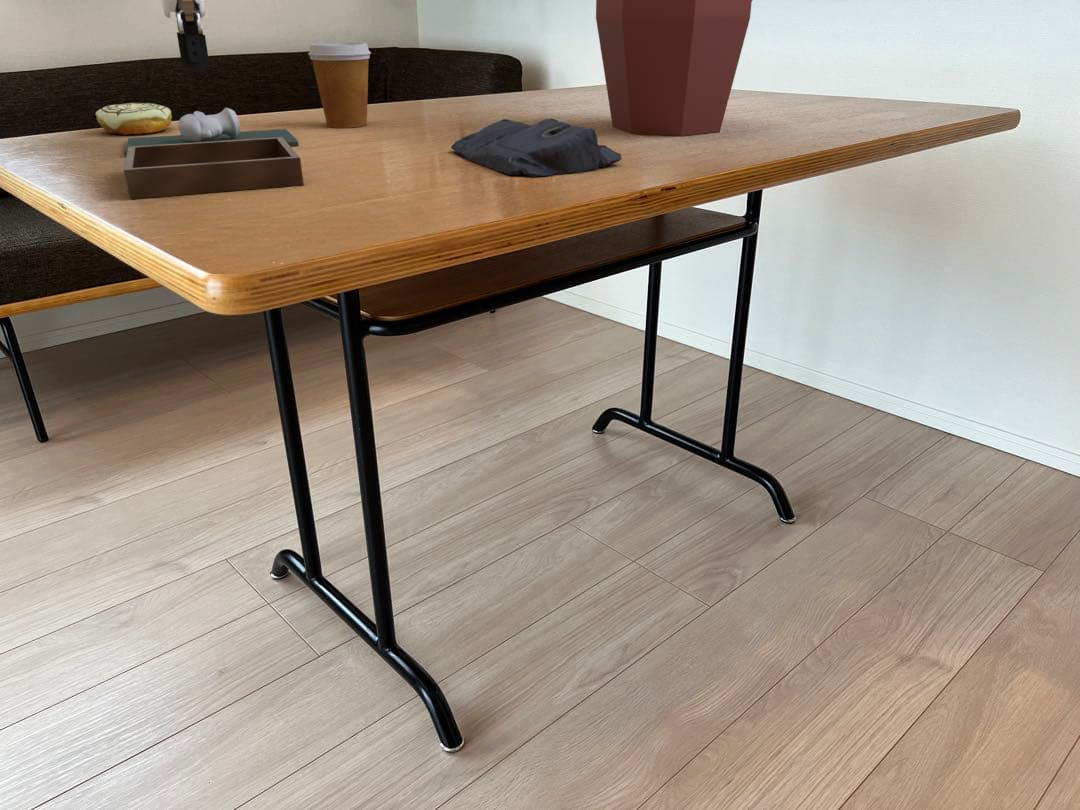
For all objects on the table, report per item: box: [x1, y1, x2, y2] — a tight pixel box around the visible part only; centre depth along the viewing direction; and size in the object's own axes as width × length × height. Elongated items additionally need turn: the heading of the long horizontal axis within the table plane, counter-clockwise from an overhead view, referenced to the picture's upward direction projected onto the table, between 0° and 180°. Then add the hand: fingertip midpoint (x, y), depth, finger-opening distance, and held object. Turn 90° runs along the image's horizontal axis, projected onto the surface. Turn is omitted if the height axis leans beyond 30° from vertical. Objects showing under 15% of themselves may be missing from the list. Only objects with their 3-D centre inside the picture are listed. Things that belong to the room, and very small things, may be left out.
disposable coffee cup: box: [307, 41, 372, 129], centre depth 131 cm, size 10×10×12 cm
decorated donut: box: [95, 102, 173, 136], centre depth 128 cm, size 10×11×4 cm
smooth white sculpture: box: [177, 107, 241, 142], centre depth 115 cm, size 4×8×5 cm
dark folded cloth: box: [450, 118, 623, 178], centre depth 105 cm, size 15×22×5 cm
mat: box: [124, 128, 300, 158], centre depth 117 cm, size 22×13×1 cm, turn 112°
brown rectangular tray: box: [123, 137, 304, 200], centre depth 95 cm, size 18×16×3 cm
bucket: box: [595, 0, 753, 137], centre depth 123 cm, size 24×22×25 cm
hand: (195, 66), depth 111 cm, fingers open, 9 cm apart
